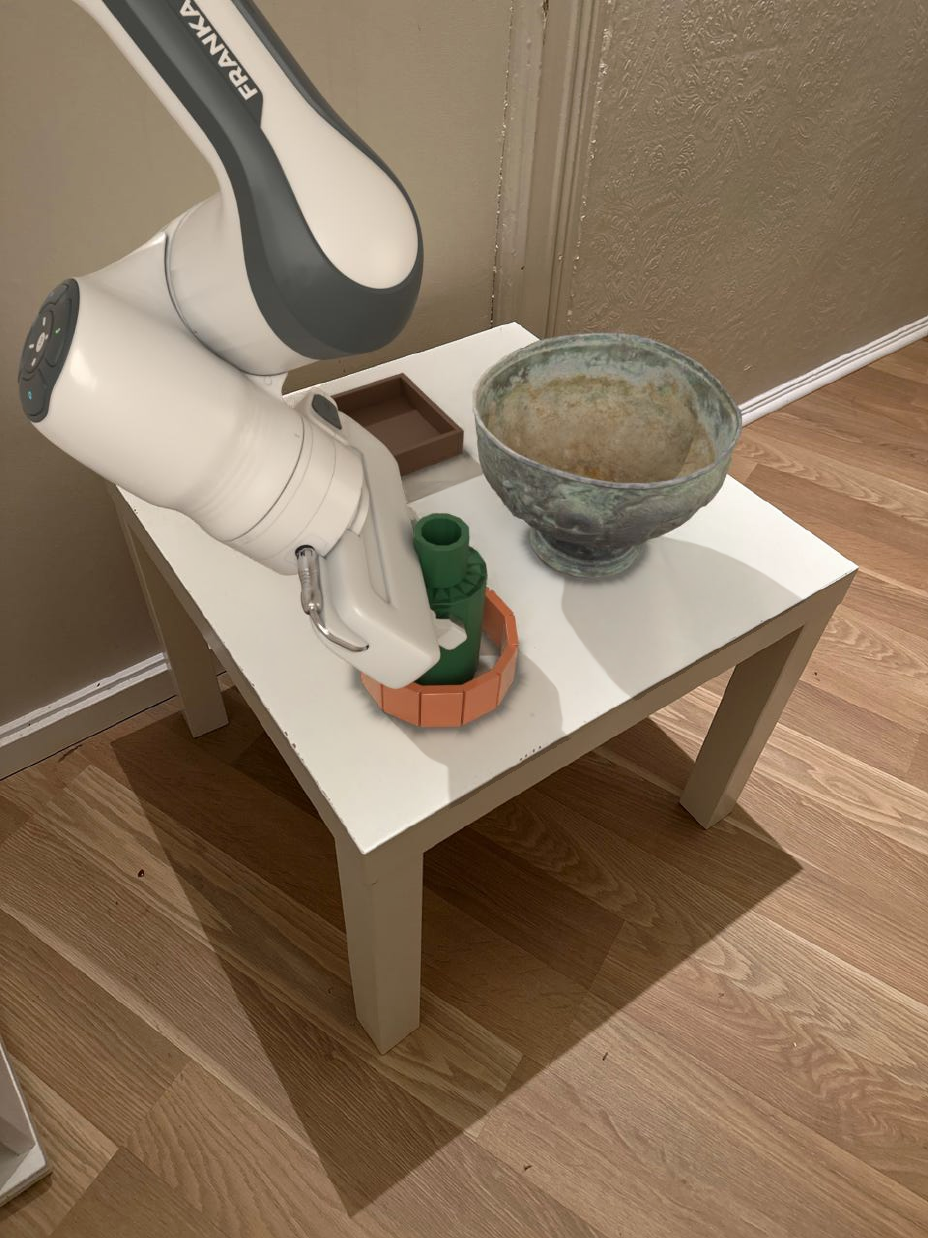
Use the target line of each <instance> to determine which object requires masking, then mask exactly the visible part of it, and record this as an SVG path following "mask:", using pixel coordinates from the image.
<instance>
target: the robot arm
mask: <svg viewBox="0 0 928 1238" xmlns="http://www.w3.org/2000/svg"><path fill="white" fill-rule="evenodd" d="M72 1H73V2H74V3H75V4H77V5H78V6H79V7H81V8H82V9H83V11H85V12H86V13H87V14H88V15H89V16H90V17H91V18H92V19H93V20H94V21H95V22H96V23H97V25H99V26H100V27H101V28H102V30H103V31H104V32H105V34H106V35H107V36H108V37H109V39H111V41H112V42H113V43H114V45H115V46H116V47H117V48H118V50H119V51H120V53H122V55H123V56H124V57H125V59H126V60H127V61H128V62H129V64H130V65H131V66H132V67H133V69H134V70H135V71H136V73H137V74H138V75H139V76H140V78H141V79H142V80H143V81H144V82H145V84H146V85H147V86H148V88H149V89H150V90H151V92H152V93H153V94H154V95H155V97H156V98H157V100H159V102H161V104H162V106H163V107H164V108H165V109H166V111H167V112H168V113H169V114H170V115H171V117H172V118H173V119H174V121H175V122H176V123H177V124H178V126H179V127H180V128H181V129H182V131H183V132H184V134H185V135H186V137H188V139H189V140H190V141H191V142H192V144H193V145H194V146H195V147H196V149H197V150H198V151H199V152H200V154H201V155H202V156H203V157H204V159H205V160H206V162H207V163H208V165H209V166H210V168H211V169H212V172H213V173H214V175H215V177H216V180H217V183H218V186H219V191H217V192H216V193H214V194H213V195H211V196H210V197H208V198H206V199H204V200H202V201H200V202H198V203H196V204H194V205H192V207H190V208H189V209H188V210H186V211H184V212H183V213H181V214H180V215H179V216H177V217H176V218H174V219H173V220H171V221H170V222H169V223H167V224H166V225H165V226H163V227H162V228H160V229H159V231H158V232H156V233H155V234H154V235H153V236H152V237H151V238H150V239H148V241H146V242H145V243H144V244H142V245H141V246H139V247H138V248H136V249H134V250H133V251H132V252H130V253H128V254H127V255H126V256H124V257H122V258H120V259H119V260H117V261H114V262H113V263H111V264H109V265H106V266H104V267H102V268H101V269H99V270H96V271H93V272H91V273H88V274H85V275H83V276H72V277H68V278H66V279H64V280H62V281H61V282H60V283H58V285H56V287H54V288H53V289H52V291H50V292H49V294H48V295H47V296H46V297H45V299H44V301H43V302H42V304H41V306H40V308H39V310H38V313H37V315H36V317H35V319H34V321H33V322H32V323H31V325H30V327H29V329H28V332H27V335H26V338H25V340H24V343H23V346H22V351H21V354H20V359H19V365H18V372H17V384H18V395H19V401H20V404H21V408H22V410H23V412H24V415H25V416H26V417H27V419H28V420H29V422H30V423H31V424H32V425H33V427H34V428H35V429H36V430H37V431H39V433H41V434H42V435H43V436H44V437H45V438H47V439H48V440H49V441H50V442H51V443H52V444H53V445H55V446H56V447H58V448H59V449H61V450H62V451H63V452H64V453H66V454H67V455H68V456H70V457H72V458H73V459H74V460H76V461H77V462H79V463H80V464H82V465H84V466H85V467H86V468H88V469H89V470H90V471H92V472H94V473H96V474H97V475H99V476H100V477H102V478H103V479H105V480H107V481H108V482H110V483H111V484H113V485H116V486H117V487H119V488H120V489H123V490H124V491H126V492H127V493H129V494H131V495H133V496H135V497H136V498H138V499H140V500H141V501H143V502H145V503H147V504H149V505H152V506H155V507H158V508H161V509H166V510H171V511H175V512H178V513H180V514H182V515H184V516H186V517H187V518H189V519H191V520H192V521H194V523H196V524H197V526H198V527H199V528H200V529H201V530H202V531H203V532H205V534H206V535H208V536H209V537H210V538H212V539H213V540H215V541H217V542H219V543H221V544H222V545H225V546H226V547H229V548H231V549H232V550H234V551H236V552H237V553H240V554H242V555H243V556H245V557H247V558H249V559H250V560H253V562H256V563H257V564H259V565H262V566H264V567H265V568H267V569H269V570H271V571H273V572H275V573H277V574H279V575H281V576H288V577H289V576H296V575H298V580H299V582H300V586H301V588H300V589H301V591H300V604H301V608H302V610H303V612H304V614H306V615H308V616H309V622H310V625H311V629H312V630H313V632H314V634H315V636H316V637H317V639H318V640H319V641H320V642H321V644H323V645H324V646H325V647H326V648H327V649H328V650H330V652H332V653H333V654H334V655H335V656H337V657H339V658H340V659H341V660H342V661H344V662H346V663H347V664H349V665H350V666H351V667H353V668H354V669H356V670H358V671H359V672H360V673H361V672H363V673H364V674H366V675H368V676H369V677H371V678H373V679H374V680H376V681H378V682H380V683H381V684H383V685H385V686H387V687H389V688H392V689H399V688H402V687H404V686H406V685H408V684H410V683H412V682H413V681H415V680H416V679H418V678H419V677H421V676H422V675H423V674H424V673H426V672H427V671H428V670H429V669H431V668H432V667H433V666H434V665H435V664H436V663H437V662H438V661H439V659H440V649H439V645H440V646H442V647H443V648H445V649H449V650H451V649H454V648H456V647H457V646H458V645H460V644H461V643H463V642H464V641H465V640H466V639H467V635H466V632H465V628H464V625H463V621H462V619H461V618H457V617H456V616H455V615H454V614H452V613H450V612H449V611H447V612H446V613H445V614H443V615H442V616H441V617H440V619H436V618H435V617H436V615H435V612H434V611H433V610H431V609H430V605H429V601H428V596H427V592H426V587H425V583H424V578H423V574H422V570H421V565H420V561H419V557H418V555H417V553H416V551H415V549H414V526H415V525H416V523H417V522H418V521H419V520H420V519H421V517H419V516H418V514H417V513H416V511H414V509H413V508H412V507H411V506H409V505H408V503H407V498H406V494H405V488H404V486H403V481H402V476H400V471H399V466H398V463H397V461H396V460H395V458H394V457H393V455H392V454H391V453H390V451H389V450H388V449H387V447H386V446H385V445H384V444H383V443H382V442H380V441H379V440H378V439H377V438H376V437H374V436H373V435H372V434H371V433H370V432H368V431H367V430H366V429H365V428H363V427H362V426H361V425H360V424H358V423H357V422H356V421H354V420H353V419H352V418H350V417H349V416H347V415H346V414H344V413H342V412H340V411H338V408H337V404H336V402H335V401H334V400H333V399H332V398H331V397H330V396H331V395H329V394H328V393H326V392H325V391H324V390H322V389H320V388H319V387H317V386H312V387H311V388H309V389H308V390H307V391H305V392H304V393H303V394H302V395H301V396H300V397H299V398H297V400H295V401H294V402H293V403H292V404H291V405H289V404H288V403H287V402H286V400H285V398H284V396H283V390H282V389H283V385H284V383H285V381H286V379H287V377H288V375H289V372H290V371H293V370H296V369H299V368H301V367H304V366H307V365H310V364H313V363H316V362H319V361H326V360H335V359H340V358H346V357H352V356H357V355H363V354H367V353H368V354H369V353H373V352H376V351H378V350H381V349H383V348H384V347H386V346H389V344H391V343H392V342H393V341H394V340H396V338H397V337H399V335H400V334H401V333H402V332H403V331H404V329H405V328H406V326H407V324H408V323H409V321H410V319H411V317H412V315H413V312H414V310H415V307H416V304H417V301H418V298H419V294H420V289H421V285H422V280H423V274H424V273H423V272H424V262H425V261H424V260H425V255H424V253H425V251H424V250H425V249H424V238H423V233H422V228H421V227H422V226H421V224H420V220H419V216H418V213H417V210H416V208H415V206H414V203H413V201H412V199H411V197H410V196H409V194H408V193H409V192H407V190H406V188H405V186H404V185H403V183H402V181H400V178H398V176H397V175H396V174H395V172H394V171H393V170H392V169H391V167H389V165H388V164H387V163H386V162H385V160H384V159H382V157H380V155H378V154H377V152H376V151H375V150H373V148H372V147H371V146H370V145H369V144H368V143H367V142H366V141H365V140H364V139H363V138H361V136H360V135H359V134H357V132H356V131H355V130H354V129H353V128H352V127H351V126H350V125H349V124H348V123H347V122H346V121H345V120H344V119H343V118H342V117H341V116H340V115H339V114H338V112H337V111H336V110H335V109H334V108H333V107H332V106H331V104H330V103H329V101H327V99H326V98H325V96H323V95H322V93H321V92H320V91H319V89H318V88H317V87H316V85H315V84H314V83H313V81H312V80H311V78H310V77H309V76H308V75H307V73H306V71H304V69H303V68H302V67H301V65H300V64H299V61H297V59H296V58H295V57H294V55H293V54H292V52H291V51H290V50H289V48H288V47H287V45H286V44H285V43H284V42H283V40H282V38H281V37H280V36H279V34H278V33H277V32H276V30H275V29H274V27H273V26H272V25H271V23H270V22H269V21H268V19H267V18H266V17H265V15H264V14H263V12H262V11H261V10H260V9H259V7H258V5H257V3H256V2H255V1H254V0H72Z"/></svg>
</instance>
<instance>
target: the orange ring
mask: <svg viewBox="0 0 928 1238" xmlns="http://www.w3.org/2000/svg"><path fill="white" fill-rule="evenodd" d="M516 621H517V620H516V616H515V613H514V611H513V610H512V609H511V608H510V607H509V606H508V605H507V604H506V603H505V601H504V600H503V599H502V598H501V597H500V596H499V595H498V594H497V593H496V592H495V591H494V589H490V587H489V586H486V595H485V605H484V615H483V624H482V631H483V632H484V633H485V634H486V635H487V637H489V638H490V640H491V641H492V642H493V643H494V644H495V645H496V646H497V648H498V649H499V650H500V656H499V657H498V659H497V661H496V662H495V664H494V666H493V667H492V669H490V670H488V671H486V672H484V673H482V674H480V675H478V676H476V677H474V678H473V679H472V680H470V681H468V682H466V683H464V684H462V685H431V686H422V685H419V684H417V683H415V682H412V683H410V684H408V685H406V686H404V687H402V688H399V689H392V688H389V687H387V686H385V685H383V684H381V683H380V682H378V681H376V680H374V679H373V678H371V677H369V676H368V675H366V674H364V673H363V672H361V671H360V680H361V684H362V685H363V686H364V688H365V689H366V691H367V692H368V693H369V695H370V696H371V698H372V699H373V701H374V702H375V703H376V704H377V706H378V707H379V709H380V710H383V712H385V713H386V714H389V715H391V716H393V717H396V718H397V719H400V720H402V721H405V722H407V723H409V724H411V725H414V726H416V727H419V726H420V727H421V728H446V727H447V728H449V727H450V728H451V727H454V728H455V727H461V725H462V726H465V725H467V724H469V723H471V722H472V721H475V720H477V719H479V718H480V717H483V716H485V715H486V714H488V713H490V712H492V711H494V710H495V709H496V708H498V707H499V705H500V704H501V702H502V701H503V699H504V697H505V696H506V694H507V692H508V690H509V688H510V687H511V685H512V683H513V682H514V679H515V673H516V666H517V660H518V653H519V652H518V651H519V646H520V645H519V644H520V642H519V635H518V627H517V622H516Z"/></svg>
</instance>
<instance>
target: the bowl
mask: <svg viewBox="0 0 928 1238" xmlns="http://www.w3.org/2000/svg"><path fill="white" fill-rule="evenodd" d="M471 411H472V413H473V416H474V417H473V418H474V424H475V425H474V426H475V433H476V439H477V440H476V445H477V446H476V447H477V454H478V462H479V464H480V465H479V466H480V468H481V470H482V474H483V476H484V478H485V479H486V481H487V483H488V485H489V486H490V488H491V489H492V491H494V492H495V493H496V495H497V497H498V498H499V499H500V500H501V502H502V504H503V506H505V507H506V508H507V509H508V511H509V512H510V513H511V514H512V516H513V517H515V518H518V519H521V520H523V521H524V522H525V523H526V524H527V525H528V526H530V530H529V537H528V538H529V544H530V547H531V548H532V550H533V551H534V552H535V554H536V555H537V557H538V558H539V559H541V560H542V561H543V562H545V563H546V564H547V565H548V566H550V567H552V568H553V569H554V570H557V571H560V572H562V573H565V574H568V575H569V576H575V577H579V578H587V579H592V578H603V577H612V576H614V575H617V574H619V573H621V572H623V571H625V570H627V569H629V567H630V566H631V565H633V564H634V562H635V561H636V560H637V558H638V556H639V554H640V553H641V549H642V544H644V543H646V542H647V541H649V540H653V539H656V538H659V537H661V536H663V535H666V534H668V533H670V532H672V531H674V530H676V529H677V528H679V527H681V526H683V525H685V524H686V523H687V522H688V521H690V520H691V519H692V518H693V517H694V516H695V514H697V513H698V511H699V510H700V509H702V508H703V507H707V505H708V504H710V503H711V502H712V501H713V500H714V499H715V497H716V496H717V495H718V494H719V492H720V490H721V489H722V488H723V486H724V483H725V481H726V478H727V475H728V472H729V469H730V467H731V465H732V461H733V460H732V455H733V452H734V449H735V447H736V446H737V443H738V442H739V440H740V438H741V436H742V431H743V415H742V410H741V408H740V407H739V406H738V404H737V403H736V401H735V400H734V399H733V397H732V396H731V394H730V393H729V392H728V391H727V390H726V388H725V386H724V385H723V383H722V382H721V381H720V379H718V378H717V376H715V375H714V374H713V373H711V372H710V371H709V370H708V369H707V368H706V367H705V366H704V365H703V364H702V363H700V362H699V361H698V360H696V359H695V358H692V357H690V356H688V355H687V354H684V353H682V352H681V351H679V350H677V349H675V348H674V347H672V346H670V345H668V344H665V343H663V342H660V341H657V340H655V339H652V338H649V337H646V336H643V335H638V334H633V333H625V332H623V333H622V332H609V331H607V332H606V331H602V332H587V333H575V334H565V335H559V336H552V337H551V336H550V337H547V338H542V339H539V340H537V341H534V342H531V343H529V344H528V345H526V346H525V347H520V348H518V349H516V350H514V351H512V352H510V353H508V354H506V355H504V356H503V357H501V358H500V359H499V360H498V361H496V362H495V363H494V364H492V365H491V366H489V367H488V368H487V369H485V371H484V372H483V374H481V376H480V377H479V378H478V379H477V382H476V383H475V385H474V388H473V390H472V410H471Z"/></svg>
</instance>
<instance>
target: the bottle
mask: <svg viewBox="0 0 928 1238" xmlns="http://www.w3.org/2000/svg"><path fill="white" fill-rule="evenodd" d="M414 549H415V551H416V553H417V555H418V557H419V561H420V565H421V570H422V574H423V578H424V583H425V587H426V592H427V596H428V601H429V605H430V609H431V610H433V611H434V612H435V615H436V617H435V618H436V619H440V617H441V616H442V615H443V614H445V613H446V612H447V611H449V612H450V613H452V614H454V615H455V616H456V617H457V618H461V619H462V621H463V625H464V628H465V632H466V635H467V639H466V640H465V641H464V642H463V643H461V644H460V645H458V646H457V647H456V648H454V649H451V650H449V649H445V648H443V647H442V646H440V645H439V649H440V659H439V661H438V662H437V663H436V664H435V665H434V666H433V667H432V668H431V669H429V670H428V671H427V672H426V673H424V674H423V675H422V676H421V677H419V678H418V679H416V680H415V681H413V682H415V683H417V684H419V685H422V686H431V685H462V684H464V683H466V682H468V681H470V680H472V679H474V678H475V676H476V675H477V671H478V665H479V662H480V652H481V643H482V632H483V629H482V624H483V615H484V605H485V595H486V587H487V585H488V570H487V569H488V568H487V563H486V561H485V560H484V558H483V557H482V555H481V554H480V552H479V551H478V550H477V549H475V548H474V547H472V546H470V527H469V525H468V524H467V523H466V522H465V521H464V520H463V519H462V518H461V517H459V516H457V515H454V514H451V513H447V512H433V513H431V514H428V515H425V516H422V517H420V520H419V521H418V522H417V523H416V525H415V526H414Z"/></svg>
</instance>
